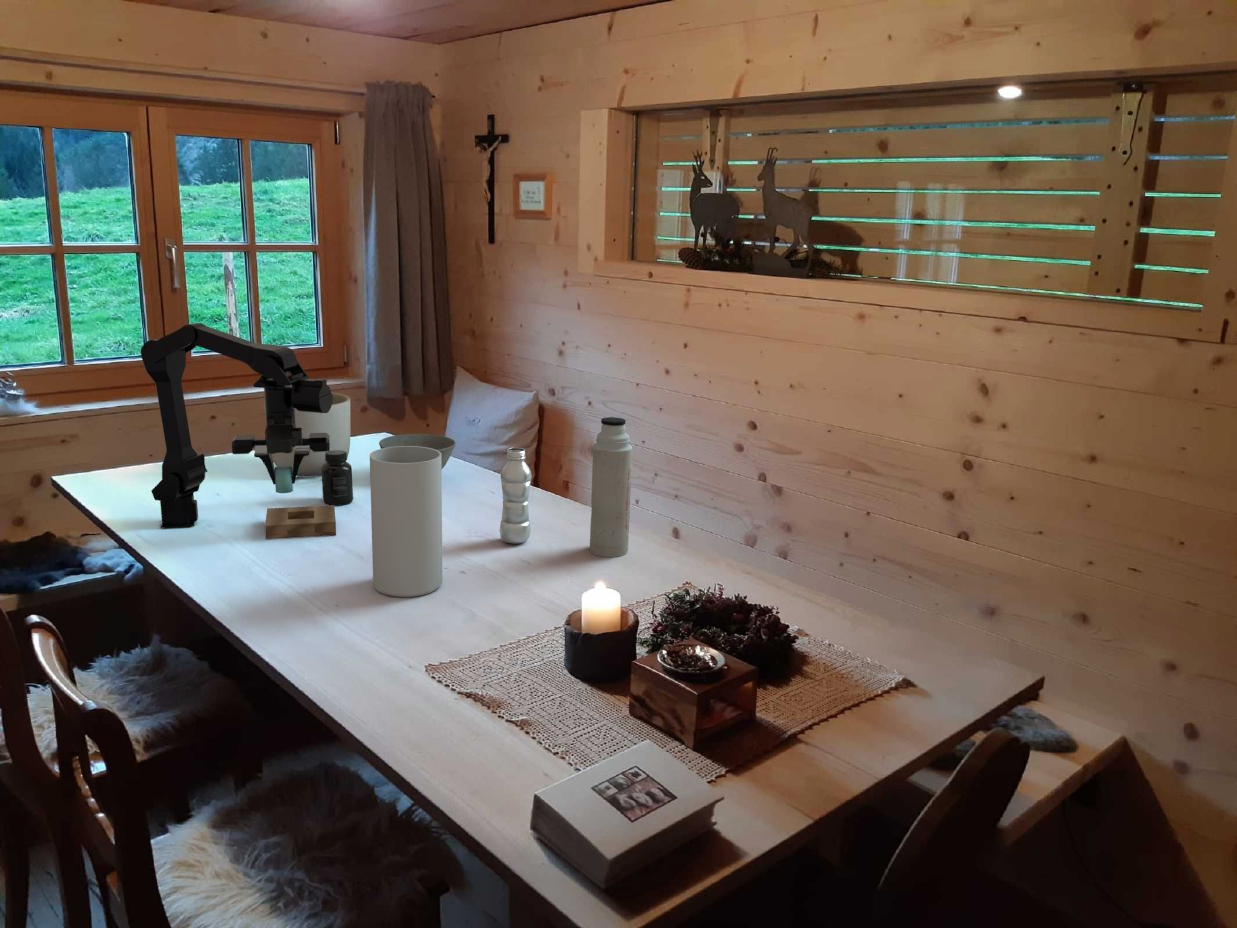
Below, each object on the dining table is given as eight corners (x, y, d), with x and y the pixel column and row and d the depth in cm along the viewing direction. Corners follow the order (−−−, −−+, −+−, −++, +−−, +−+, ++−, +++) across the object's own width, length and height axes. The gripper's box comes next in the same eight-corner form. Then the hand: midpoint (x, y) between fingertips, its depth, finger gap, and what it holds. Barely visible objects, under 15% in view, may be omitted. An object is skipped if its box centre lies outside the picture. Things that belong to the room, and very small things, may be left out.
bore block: (265, 539, 200) (264, 525, 200) (267, 521, 211) (267, 508, 211) (336, 535, 204) (335, 521, 204) (334, 517, 216) (334, 505, 215)
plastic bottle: (493, 543, 203) (493, 450, 198) (511, 534, 209) (512, 444, 204) (518, 549, 201) (520, 455, 196) (536, 540, 206) (538, 448, 201)
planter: (255, 479, 242) (250, 404, 237) (286, 459, 262) (282, 389, 257) (337, 483, 242) (335, 408, 237) (362, 462, 262) (360, 393, 257)
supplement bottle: (357, 498, 230) (355, 449, 227) (346, 507, 223) (345, 456, 220) (329, 497, 231) (327, 447, 227) (318, 505, 224) (315, 455, 221)
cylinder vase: (374, 600, 172) (370, 464, 166) (372, 575, 184) (368, 447, 177) (445, 596, 175) (444, 462, 169) (439, 571, 187) (438, 445, 181)
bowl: (365, 484, 241) (364, 445, 239) (403, 467, 259) (402, 430, 256) (433, 493, 236) (433, 454, 234) (467, 474, 254) (467, 437, 251)
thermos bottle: (631, 546, 205) (637, 416, 198) (623, 558, 197) (629, 424, 190) (594, 542, 206) (598, 413, 199) (585, 554, 199) (589, 421, 192)
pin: (275, 493, 199) (273, 470, 198) (276, 489, 202) (274, 465, 201) (292, 492, 200) (291, 469, 199) (293, 488, 203) (292, 465, 202)
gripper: (226, 419, 187) (231, 496, 191) (327, 417, 192) (330, 492, 196) (232, 407, 197) (237, 481, 201) (328, 405, 202) (331, 477, 206)
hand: (284, 483), depth 201 cm, fingers closed on pin, 3 cm apart
